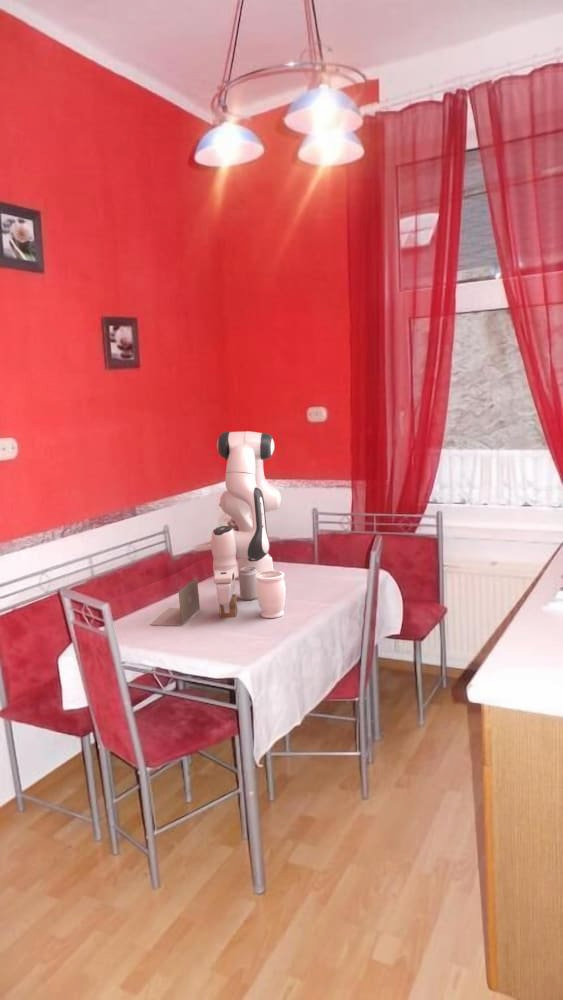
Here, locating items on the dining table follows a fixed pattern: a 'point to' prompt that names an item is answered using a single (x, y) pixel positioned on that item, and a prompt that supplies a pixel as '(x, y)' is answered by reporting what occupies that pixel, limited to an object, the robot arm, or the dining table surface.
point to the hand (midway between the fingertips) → (228, 608)
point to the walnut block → (232, 608)
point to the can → (248, 583)
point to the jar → (271, 593)
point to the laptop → (181, 607)
